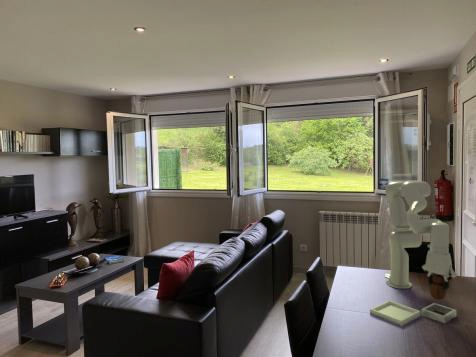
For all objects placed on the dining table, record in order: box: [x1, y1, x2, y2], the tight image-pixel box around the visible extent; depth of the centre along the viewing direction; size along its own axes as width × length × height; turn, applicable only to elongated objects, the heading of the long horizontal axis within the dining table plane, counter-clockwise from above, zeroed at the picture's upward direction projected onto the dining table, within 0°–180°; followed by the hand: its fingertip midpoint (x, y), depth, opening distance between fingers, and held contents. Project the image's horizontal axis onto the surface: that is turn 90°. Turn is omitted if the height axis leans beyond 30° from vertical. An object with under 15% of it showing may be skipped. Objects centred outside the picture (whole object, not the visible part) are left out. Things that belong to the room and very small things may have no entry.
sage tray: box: [369, 300, 421, 327], centre depth 172 cm, size 16×16×2 cm
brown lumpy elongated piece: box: [429, 273, 447, 300], centre depth 169 cm, size 7×6×15 cm
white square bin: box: [420, 302, 457, 324], centre depth 170 cm, size 10×11×3 cm
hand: (438, 286), depth 170 cm, fingers closed on brown lumpy elongated piece, 6 cm apart
